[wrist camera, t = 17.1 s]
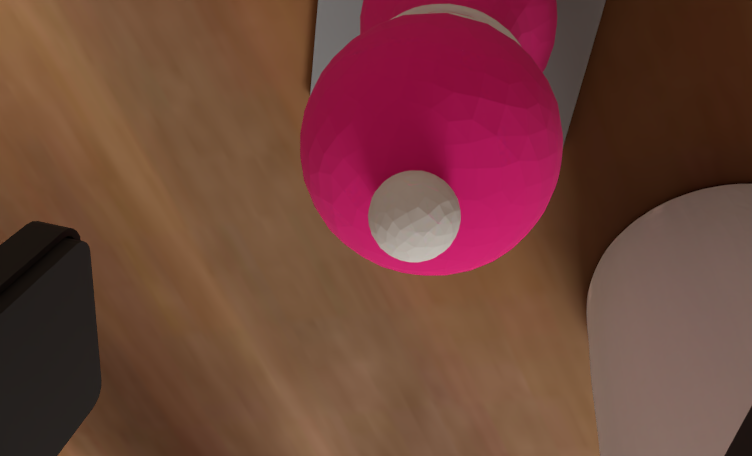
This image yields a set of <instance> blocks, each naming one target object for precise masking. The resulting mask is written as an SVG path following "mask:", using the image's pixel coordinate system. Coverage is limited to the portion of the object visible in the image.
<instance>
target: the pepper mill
mask: <svg viewBox="0 0 752 456" xmlns="http://www.w3.org/2000/svg"><path fill="white" fill-rule="evenodd" d="M556 27H557V1H556V0H363V5H362V10H361V15H360V35H359V36H357V37H355V38H354V39H352V40H351V41H350V42H349V43H348V44H347V45H346V46H345V47H344V48H343V49H342V50H341V51H340V52H339V53H337V54H336V55H335V56H334V57H333V59H332V60H331V61H330V62H329V64H328V65H327V66H326V68H325V69H324V70H323V71H322V73H321V75H320V76H319V78H318V80H317V82H316V84H315V86H314V89H313V91H312V93H311V95H310V97H309V100H308V103H307V106H306V108H305V111H304V117H303V122H302V128H301V135H300V157H301V163H302V169H303V176H304V181H305V184H306V186H307V189H308V191H309V194H310V196H311V198H312V201H313V203H314V206H315V208H316V209H317V211H318V212H319V214H320V216H321V217H322V219H323V220H324V222H325V223H326V225H327V226H328V228H329V229H330V230H331V231H332V232H333V233H334V234H335V235H336V236H337V237H338V238H339V239H340V240H341V241H342V242H343V243H344V244H345V245H347V246H348V247H349V248H351V249H352V250H354V251H355V252H356V253H358V254H359V255H361V256H362V257H364V258H366V259H368V260H370V261H372V262H374V263H376V264H378V265H380V266H382V267H385V268H388V269H392V270H395V271H399V272H402V273H409V274H416V275H450V274H455V273H460V272H465V271H470V270H473V269H475V268H478V267H480V266H483V265H485V264H488V263H490V262H493V261H494V260H496V259H498V258H499V257H501V256H502V255H504V254H505V253H507V252H508V251H510V250H511V249H512V248H513V247H514V246H516V245H517V244H518V243H519V242H520V241H521V240H522V239H523V238H524V237H525V236H526V235H527V234H528V233H529V231H530V230H531V229H532V228H533V227H534V226H535V224H536V223H537V222H538V220H539V219H540V217H541V216H542V214H543V213H544V211H545V209H546V207H547V205H548V203H549V201H550V199H551V196H552V194H553V192H554V189H555V187H556V184H557V181H558V177H559V172H560V168H561V161H562V149H563V132H562V126H561V120H560V114H559V108H558V103H557V100H556V98H555V96H554V93H553V91H552V89H551V86H550V84H549V82H548V80H547V78H546V77H545V76H544V74H543V71H544V70H545V68H546V66H547V63H548V60H549V58H550V55H551V52H552V49H553V46H554V42H555V35H556Z"/></svg>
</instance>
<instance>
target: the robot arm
mask: <svg viewBox="0 0 752 456" xmlns="http://www.w3.org/2000/svg"><path fill="white" fill-rule="evenodd" d="M100 390H101V371H100V359H99V348H98V336H97V325H96V313H95V302H94V290H93V279H92V267H91V256H90V249H89V246H88V244H87V243H86V242H84V241H81V240H80V236H79V234H78V232H77V231H76V230H74V229H72V228H67V227H62V226H58V225H53V224H48V223H44V222H39V221H32V222H30V223H29V224H27V225H25V226H24V227H23V228H22V229H20V230H19V231H18V232H17V233H15V234H14V235H13V236H11V237H10V238H9V239H8V240H6V241H5V242H4V243H3V244H1V245H0V456H57V455H58V454H59V453H60V451H61V450H62V449H63V447H64V446H65V445H66V443H67V442H68V441H69V439H70V438H71V437H72V435H73V434H74V433H75V431H76V430H77V429H78V427H79V426H80V425H81V423H82V422H83V421H84V419H85V418H86V417H87V415H88V414H89V413H90V411H91V410H92V409H93V407H94V405H95V404H96V402H97V399H98V397H99V394H100ZM724 456H752V406H751V408H750V410H749V411H748V413H747V415H746V417H745V419H744V421H743V422H742V424H741V426H740V428H739V430H738V432H737V433H736V435H735V437H734V439H733V441H732V443H731V444H730V446H729V448H728V450H727V452H726V454H725V455H724Z"/></svg>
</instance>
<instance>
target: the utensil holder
mask: <svg viewBox="0 0 752 456" xmlns="http://www.w3.org/2000/svg"><path fill="white" fill-rule="evenodd" d="M587 331H588V340H589V354H590V370H591V382H592V390H593V399H594V406H595V414H596V422H597V431H598V439H599V449H600V456H724V455H725V454H726V452H727V450H728V448H729V446H730V444H731V443H732V441H733V439H734V437H735V435H736V433H737V432H738V430H739V428H740V426H741V424H742V422H743V421H744V419H745V417H746V415H747V413H748V411H749V410H750V408H751V406H752V184H731V185H722V186H716V187H711V188H706V189H701V190H698V191H694V192H691V193H688V194H685V195H682V196H680V197H677V198H674V199H672V200H669V201H667V202H665V203H663V204H661V205H659V206H657V207H656V208H654V209H652V210H650V211H649V212H647V213H646V214H644V215H643V216H641V217H640V218H638V219H637V220H635V221H634V222H633V223H632V224H630V225H629V226H628V227H627V228H626V229H625V230H624V231H623V232H622V233H620V234H619V235H618V236H617V237H616V238H615V239H614V241H613V242H612V243H611V244H610V246H609V247H608V248H607V250H606V251H605V253H604V254H603V256H602V257H601V259H600V261H599V263H598V265H597V267H596V269H595V272H594V274H593V277H592V280H591V283H590V287H589V291H588V296H587Z"/></svg>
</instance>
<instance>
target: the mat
mask: <svg viewBox="0 0 752 456" xmlns="http://www.w3.org/2000/svg"><path fill="white" fill-rule="evenodd" d="M556 1H557V27H556V35H555V42H554V46H553V49H552V52H551V55H550V58H549V60H548V63H547V66H546V68H545V70H544V71H543V74H544V76H545V77H546V78H547V80H548V82H549V84H550V86H551V89H552V91H553V93H554V96H555V98H556V100H557V103H558V108H559V114H560V120H561V126H562V132H563V146H564V142H565V139H566V135H567V132H568V129H569V125H570V122H571V118H572V115H573V111H574V108H575V105H576V101H577V98H578V94H579V91H580V88H581V84H582V81H583V77H584V74H585V70H586V67H587V64H588V60H589V57H590V53H591V50H592V46H593V43H594V40H595V36H596V33H597V29H598V26H599V22H600V19H601V16H602V12H603V9H604V5H605V2H606V0H556ZM362 5H363V0H318V8H317V20H316V31H315V43H314V55H313V67H312V79H311V91H310V95H311V93H312V91H313V89H314V86H315V84H316V82H317V80H318V78H319V76H320V75H321V73H322V71H323V70H324V69H325V68H326V66H327V65H328V64H329V62H330V61H331V60H332V59H333V57H334V56H335V55H336V54H337V53H339V52H340V51H341V50H342V49H343V48H344V47H345V46H346V45H347V44H348V43H349V42H350V41H351V40H352V39H354V38H355V37H357V36H359V35H360V15H361V10H362Z"/></svg>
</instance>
